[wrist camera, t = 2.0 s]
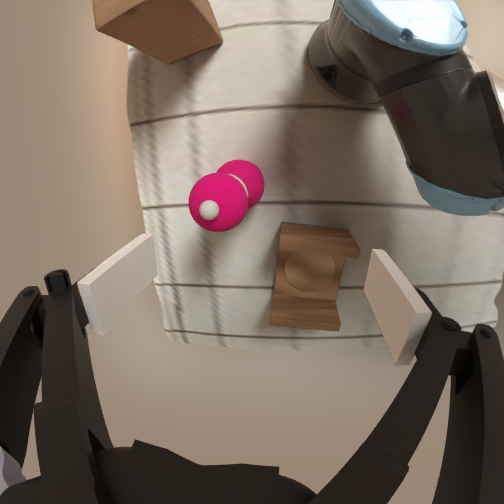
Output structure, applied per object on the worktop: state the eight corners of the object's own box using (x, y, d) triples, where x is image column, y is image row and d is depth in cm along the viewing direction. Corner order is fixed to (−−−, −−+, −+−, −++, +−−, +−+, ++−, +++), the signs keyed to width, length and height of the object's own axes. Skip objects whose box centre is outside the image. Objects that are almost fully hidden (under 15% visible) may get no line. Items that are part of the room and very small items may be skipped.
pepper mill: (232, 210, 44) (190, 261, 25) (213, 169, 42) (155, 192, 23) (274, 193, 42) (261, 234, 24) (255, 150, 40) (225, 156, 21)
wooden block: (224, 43, 33) (178, -16, 15) (167, 65, 35) (94, 31, 17) (209, 1, 30) (162, -61, 12) (156, 23, 32) (89, -19, 14)
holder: (281, 221, 43) (279, 239, 36) (348, 230, 42) (360, 249, 35) (273, 297, 49) (269, 324, 41) (332, 303, 48) (338, 331, 40)
